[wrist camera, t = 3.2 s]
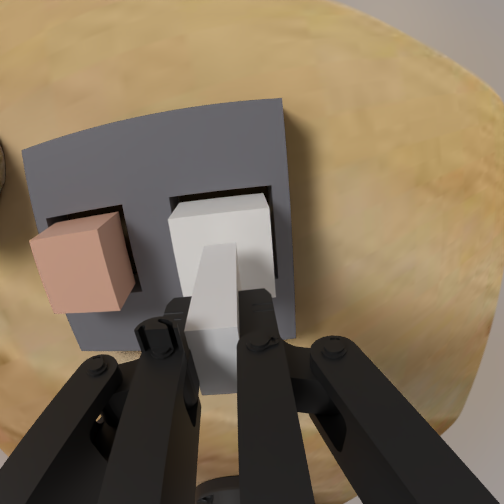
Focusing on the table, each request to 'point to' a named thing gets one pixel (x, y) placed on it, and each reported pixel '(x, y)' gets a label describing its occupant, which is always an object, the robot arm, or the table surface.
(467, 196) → the table surface
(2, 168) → the rock
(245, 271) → the key soft
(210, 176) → the key panel
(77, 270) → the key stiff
